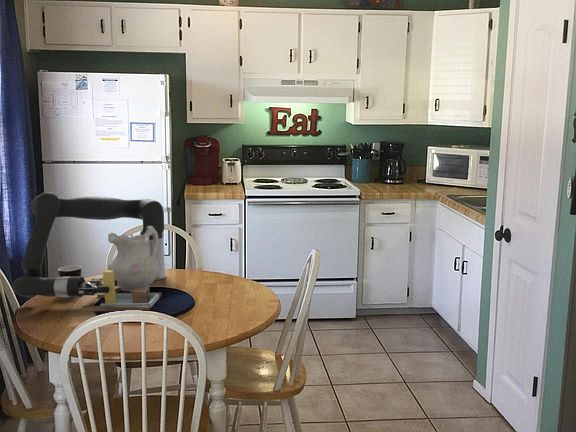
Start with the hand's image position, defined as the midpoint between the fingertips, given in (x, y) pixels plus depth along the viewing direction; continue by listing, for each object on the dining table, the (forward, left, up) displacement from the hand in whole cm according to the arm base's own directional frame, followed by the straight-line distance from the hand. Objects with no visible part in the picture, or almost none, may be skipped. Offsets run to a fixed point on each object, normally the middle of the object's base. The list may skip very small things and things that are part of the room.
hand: (113, 286), depth 243 cm
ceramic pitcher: (-21, +2, -8) cm, 22 cm away
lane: (0, +3, -8) cm, 8 cm away
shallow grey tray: (0, +6, -8) cm, 10 cm away
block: (0, +10, -6) cm, 12 cm away
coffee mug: (-19, -23, -8) cm, 31 cm away
